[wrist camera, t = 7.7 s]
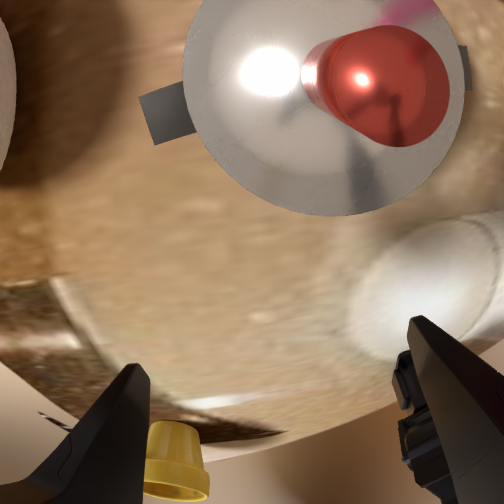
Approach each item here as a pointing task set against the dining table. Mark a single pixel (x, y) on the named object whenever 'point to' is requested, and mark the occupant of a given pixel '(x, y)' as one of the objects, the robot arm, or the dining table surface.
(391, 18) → the lid
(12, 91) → the cereal bowl
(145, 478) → the plant pot
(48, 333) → the dining table surface
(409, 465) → the robot arm
